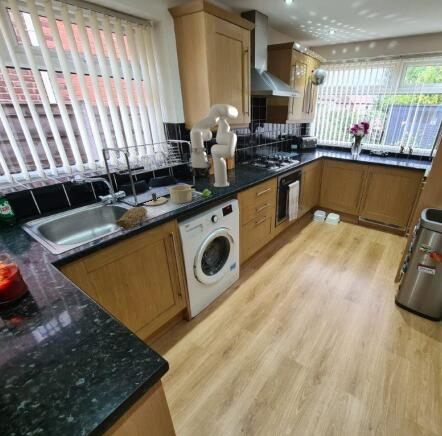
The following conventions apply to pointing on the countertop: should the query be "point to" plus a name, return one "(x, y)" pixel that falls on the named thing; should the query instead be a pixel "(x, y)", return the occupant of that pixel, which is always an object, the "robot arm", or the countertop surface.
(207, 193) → the grapes
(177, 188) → the pot
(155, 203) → the lid
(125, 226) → the brown hedgehog
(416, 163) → the countertop surface
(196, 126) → the robot arm
